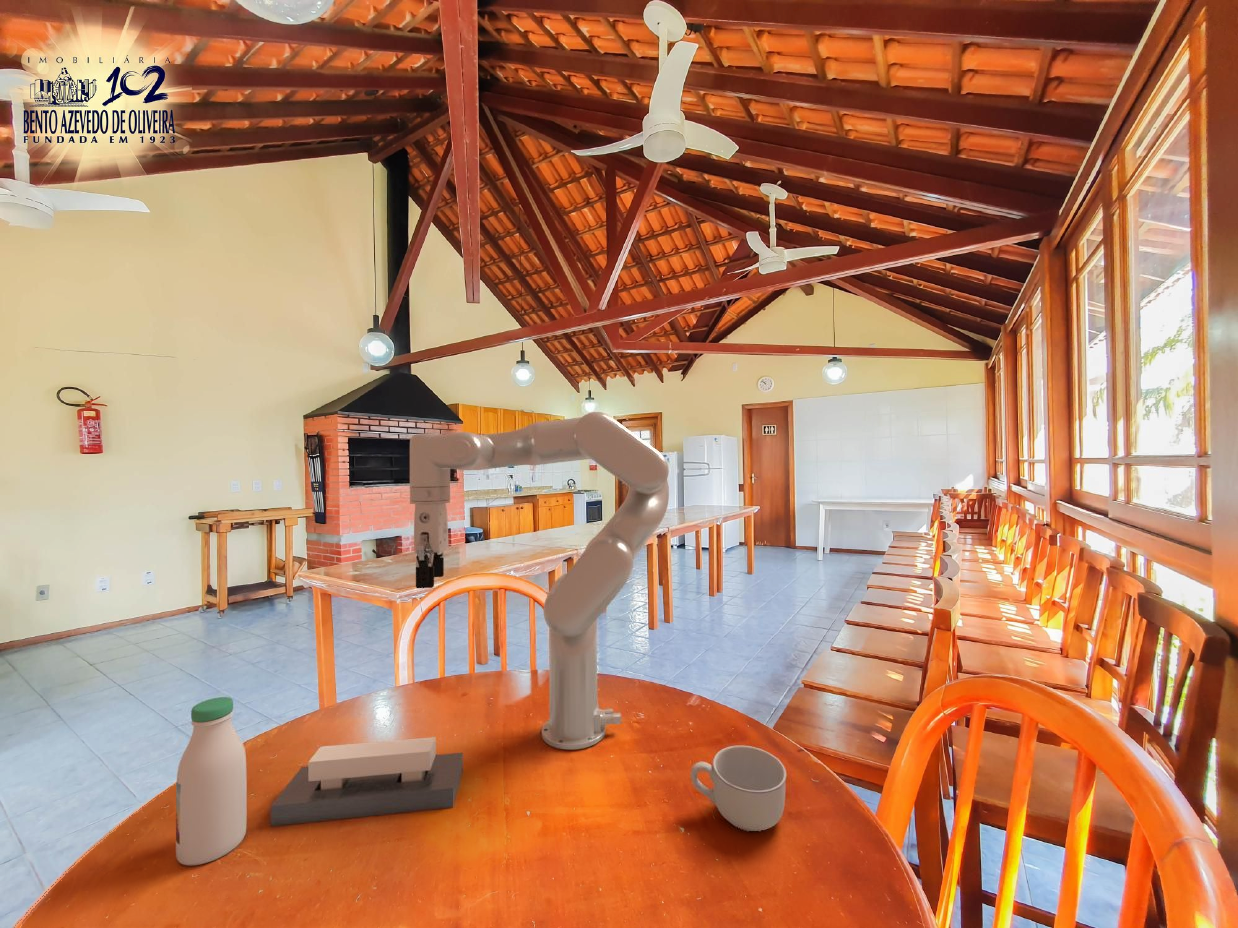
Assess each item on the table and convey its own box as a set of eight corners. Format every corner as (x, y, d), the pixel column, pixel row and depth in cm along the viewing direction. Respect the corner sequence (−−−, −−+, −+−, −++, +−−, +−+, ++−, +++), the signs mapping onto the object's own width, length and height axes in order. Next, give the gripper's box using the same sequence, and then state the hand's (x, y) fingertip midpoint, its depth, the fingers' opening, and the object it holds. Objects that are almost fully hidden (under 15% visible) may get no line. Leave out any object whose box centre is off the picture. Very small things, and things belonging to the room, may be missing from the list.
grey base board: (462, 769, 89) (462, 752, 89) (453, 807, 79) (453, 787, 79) (301, 784, 85) (301, 766, 85) (270, 826, 75) (270, 805, 75)
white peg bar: (435, 781, 85) (435, 736, 85) (430, 798, 81) (429, 751, 81) (320, 792, 83) (320, 746, 83) (308, 810, 78) (308, 761, 78)
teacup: (787, 803, 79) (786, 751, 80) (786, 852, 69) (785, 793, 69) (698, 785, 84) (698, 736, 84) (685, 829, 74) (685, 774, 74)
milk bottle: (259, 828, 74) (260, 691, 75) (212, 869, 67) (213, 717, 67) (211, 825, 75) (212, 689, 75) (159, 865, 68) (160, 715, 68)
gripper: (441, 498, 93) (441, 591, 93) (456, 493, 110) (457, 572, 110) (398, 498, 92) (398, 593, 92) (420, 494, 109) (420, 573, 109)
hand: (430, 581), depth 101 cm, fingers open, 9 cm apart
